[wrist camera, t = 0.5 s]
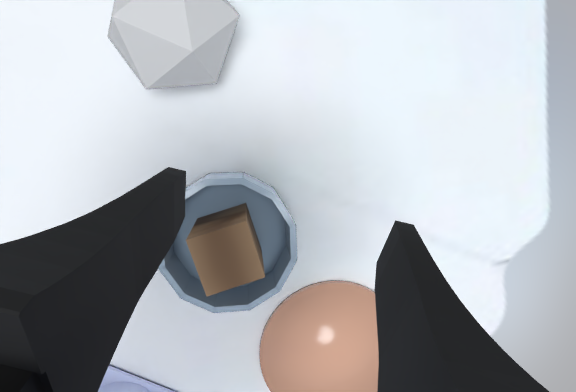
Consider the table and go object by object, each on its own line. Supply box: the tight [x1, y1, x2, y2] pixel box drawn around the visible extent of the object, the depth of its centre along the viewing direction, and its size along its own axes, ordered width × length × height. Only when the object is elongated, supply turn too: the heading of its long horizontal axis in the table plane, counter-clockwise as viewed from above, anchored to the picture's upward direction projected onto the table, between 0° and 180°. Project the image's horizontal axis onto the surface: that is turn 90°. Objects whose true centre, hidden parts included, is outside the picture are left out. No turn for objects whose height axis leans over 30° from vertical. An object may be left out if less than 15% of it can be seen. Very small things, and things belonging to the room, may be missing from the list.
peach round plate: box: [260, 281, 379, 392], centre depth 39 cm, size 14×14×1 cm
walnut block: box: [186, 203, 265, 296], centre depth 33 cm, size 4×4×7 cm
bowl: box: [159, 172, 297, 313], centre depth 35 cm, size 11×11×4 cm
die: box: [108, 0, 240, 89], centre depth 29 cm, size 8×9×10 cm
